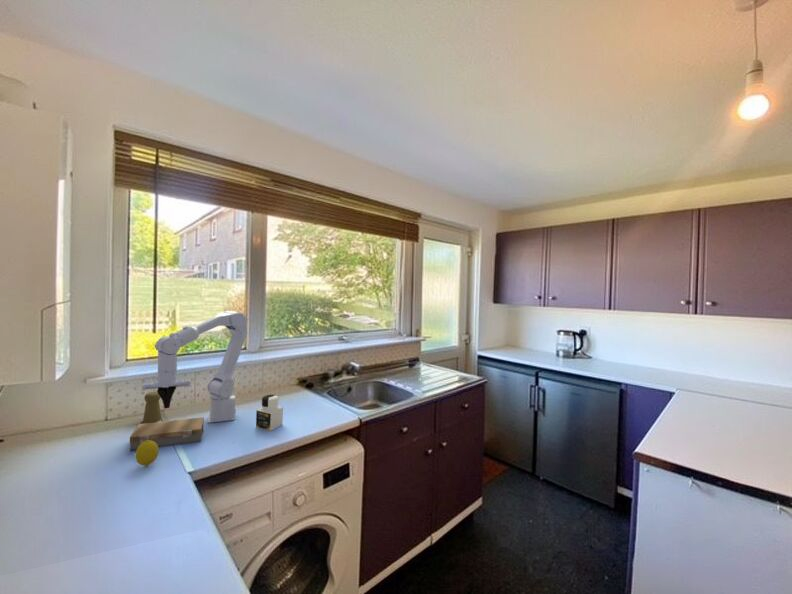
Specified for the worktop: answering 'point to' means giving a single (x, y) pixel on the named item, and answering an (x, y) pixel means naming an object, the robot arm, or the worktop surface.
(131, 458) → the worktop surface
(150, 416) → the cork
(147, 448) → the lemon
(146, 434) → the tan flat wooden board
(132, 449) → the cable duct
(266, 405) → the medicine bottle
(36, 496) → the worktop surface
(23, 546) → the worktop surface
